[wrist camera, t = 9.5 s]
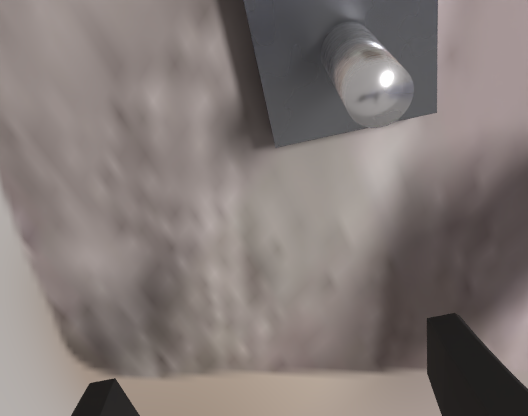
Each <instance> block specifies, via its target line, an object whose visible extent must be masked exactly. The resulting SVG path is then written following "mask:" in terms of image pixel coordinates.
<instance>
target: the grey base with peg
mask: <svg viewBox="0 0 528 416" xmlns="http://www.w3.org/2000/svg"><path fill="white" fill-rule="evenodd" d="M243 1H244V5H245V10H246V14H247V19H248V24H249V28H250V33H251V37H252V42H253V46H254V51H255V56H256V60H257V65H258V69H259V74H260V79H261V83H262V88H263V92H264V97H265V102H266V106H267V111H268V115H269V120H270V125H271V129H272V134H273V138H274V143H275V147H276V148H277V147H282V146H286V145H291V144H295V143H300V142H304V141H309V140H314V139H318V138H323V137H327V136H332V135H336V134H341V133H346V132H350V131H355V130H359V129H364V128H369V127H370V128H378V127H383V126H387V125H389V124H391V123H393V122H396V121H401V120H405V119H410V118H414V117H419V116H423V115H428V114H433V113H437V25H438V0H243Z"/></svg>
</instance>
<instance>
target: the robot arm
mask: <svg viewBox="0 0 528 416" xmlns="http://www.w3.org/2000/svg"><path fill="white" fill-rule="evenodd" d="M427 374H428V376H429V380H430V382H431V386H432V389H433V391H434V394H435V397H436V400H437V403H438V406H439V409H440V411H441V414H442V416H528V389H527V388H526V387H525V386H524V385H523V384H522V383H521V382H520V381H519V380H518V379H517V378H516V377H515V376H514V375H513V374H512V373H511V372H510V371H509V370H508V369H507V368H506V367H505V366H504V365H503V364H502V363H501V362H500V361H499V359H498V358H497V357H496V356H495V355H494V354H493V353H492V352H491V351H490V350H489V349H488V348H487V347H486V346H485V345H484V343H483V342H482V341H481V340H480V339H479V338H478V337H477V336H476V335H475V333H474V332H473V331H472V330H471V329H470V328H469V327H468V325H467V324H466V323H465V322H464V321H463V319H462V318H461V317H460V316H459V315H457V314H455V313H452V314H447V315H442V316H437V317H431V318H427ZM71 416H140V415H139V414H138V412H137V411H136V410H135V408H134V406H133V405H132V403H131V402H130V400H129V399H128V397H127V396H126V394H125V393H124V391H123V389H122V388H121V386H120V385H119V383H118V382H117V380H116V379H115V378H114V379H109V380H104V381H100V382H94V383H90V384H89V386H88V387H87V389H86V391H85V392H84V394H83V396H82V397H81V399H80V401H79V403H78V405H77V406H76V408H75V410H74V411H73V413H72V415H71Z"/></svg>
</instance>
